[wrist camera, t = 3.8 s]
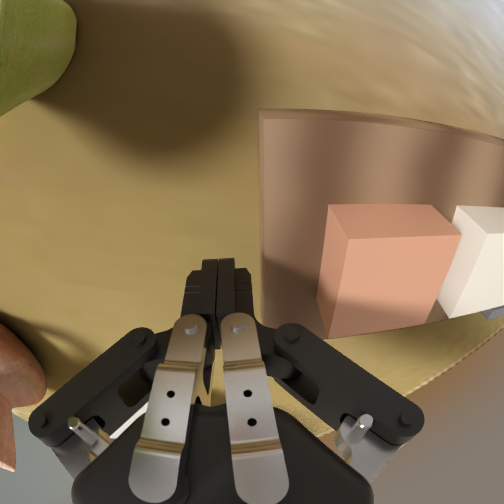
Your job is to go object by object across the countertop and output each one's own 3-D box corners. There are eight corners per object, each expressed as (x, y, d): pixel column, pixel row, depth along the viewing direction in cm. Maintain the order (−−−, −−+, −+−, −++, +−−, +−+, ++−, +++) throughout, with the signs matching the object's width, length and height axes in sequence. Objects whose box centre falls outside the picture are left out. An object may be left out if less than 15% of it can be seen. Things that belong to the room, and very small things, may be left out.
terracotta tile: (431, 204, 14) (461, 234, 11) (404, 289, 17) (424, 323, 15) (328, 204, 14) (348, 239, 11) (315, 298, 17) (327, 338, 15)
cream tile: (513, 208, 14) (540, 232, 12) (485, 278, 18) (505, 304, 15) (456, 205, 14) (487, 233, 12) (428, 286, 17) (449, 318, 15)
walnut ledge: (514, 142, 14) (541, 158, 12) (465, 289, 22) (481, 311, 20) (258, 109, 14) (263, 119, 11) (260, 312, 22) (264, 344, 19)
